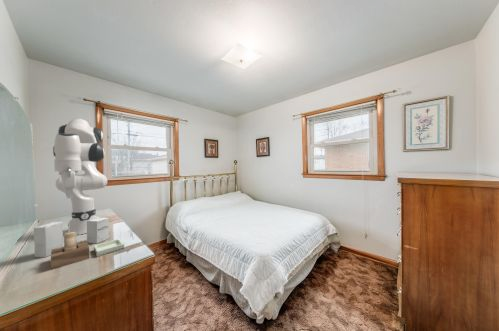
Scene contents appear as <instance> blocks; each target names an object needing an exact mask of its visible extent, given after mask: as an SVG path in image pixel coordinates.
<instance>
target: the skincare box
mask: <svg viewBox="0 0 499 331" xmlns="http://www.w3.org/2000/svg"><path fill="white" fill-rule="evenodd" d="M63 225H64V224H63V221H50V222H49V223H48V222H47V223H46V224H41V225H38V226H35V227H33V238H34V239H33V240H34V241H33V243H34V244H33V245H34V258H48V257H49V256H50V257H51V251H52V249H55V248H59V247H64V231H63V230H64V228H63V227H64V226H63Z"/></svg>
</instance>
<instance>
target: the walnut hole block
mask: <svg viewBox="0 0 499 331" xmlns="http://www.w3.org/2000/svg"><path fill="white" fill-rule="evenodd" d="M89 259H90V246H89V243H87V240H85V241H80V242H76V249H73V250H69V251H66V252H64V246H63V247H59V248H55V249H52V251H51V255H50V270H52V271H53V270H54V269H59V268H61V267H65V266H68V265H71V264H76V263H78V262H81V261H86V260H89Z"/></svg>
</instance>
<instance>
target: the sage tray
mask: <svg viewBox="0 0 499 331" xmlns="http://www.w3.org/2000/svg"><path fill="white" fill-rule="evenodd" d="M121 249H122V250H125V243H124V242H123V241H122V239H120V238H118V239H113V240H108V241H106V242H102V243H101V242H100V243H96V244H94V245H93V251H94V253H95V255H96V257H97V258H98V257H101V256H105V255H108V254H112V253H116V252H119V251H121Z"/></svg>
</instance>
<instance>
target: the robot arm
mask: <svg viewBox="0 0 499 331" xmlns="http://www.w3.org/2000/svg"><path fill="white" fill-rule="evenodd" d="M103 138H104V133H103V131H102V129H101V128H98V127H95V126H94V127H92V126H90V124H89V122H88V121H87V120H85V119H83V118H78V117H76V118H73V119H70V120H69V121H68V123H67V124H63V125H60V126H59V127H58V130H57V134H56V135H55V138H54V145H53V147H52V148H53V149H52V151H53V152H52V153H53V157H55V158H54V172H58V176H59V177H58V178H57V179H56V181H55V187H56V189H57V190H58V191H60V192H63V193H64V194H65V196H66V199H70V201H71V205H72V206H71V209H72V212H71V219H70V220H69V221H68V223H67V227H68V228H67V231H66V232H64V234H67V233H71V232H76V236H78V235H79V236H80V235H83V234H87V221H89V220H93V219H96V218H100V217H99V216H98V215H97V214H96V213H97V212H96V209H95V208H96V206H95V205H96V204H95V197H94V196H92V195H88V194H85V193H84V192H83V191H89V190H90V191H91V190H100V189H103V188H106V186H107V185H108V178H107V176H106V175H105V174H103V173H101V172H100V171H99V170H98V168H96V164H95V163H99V162H100V161H102V160H103V159H104V158H105V155H106V154H105V149H104V147H103V145H102V143H101V142H102V140H103ZM81 171H83V172H84V173H82V174H81V173H80V174H79V172H81Z"/></svg>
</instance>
